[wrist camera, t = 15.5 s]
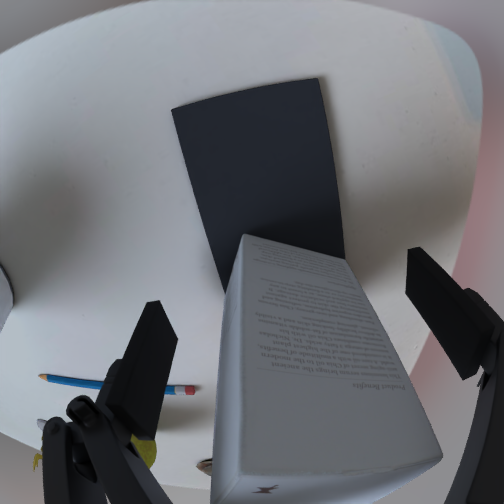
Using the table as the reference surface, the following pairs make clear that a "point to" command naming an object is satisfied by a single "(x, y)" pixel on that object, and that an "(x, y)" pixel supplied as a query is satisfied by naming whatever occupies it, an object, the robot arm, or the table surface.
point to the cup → (5, 297)
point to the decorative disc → (205, 467)
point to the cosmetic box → (310, 387)
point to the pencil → (97, 385)
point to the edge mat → (262, 169)
